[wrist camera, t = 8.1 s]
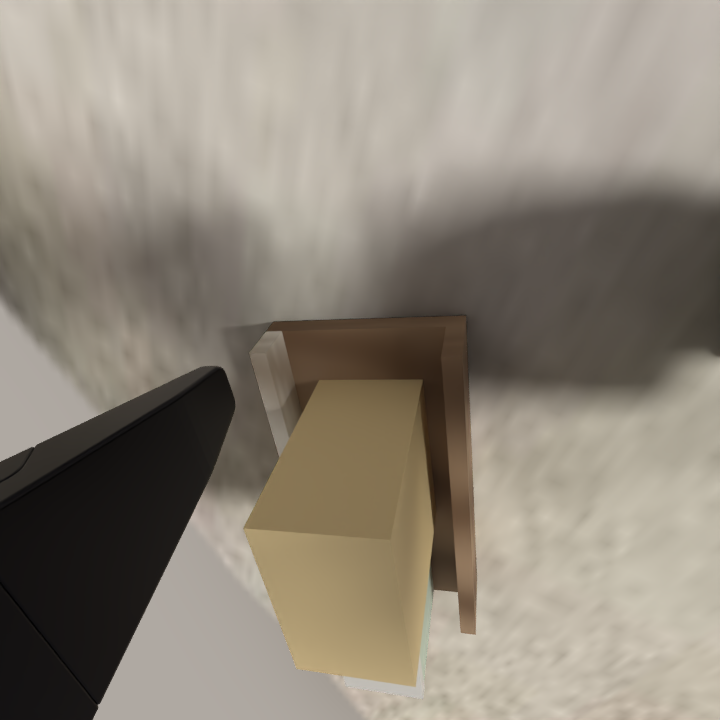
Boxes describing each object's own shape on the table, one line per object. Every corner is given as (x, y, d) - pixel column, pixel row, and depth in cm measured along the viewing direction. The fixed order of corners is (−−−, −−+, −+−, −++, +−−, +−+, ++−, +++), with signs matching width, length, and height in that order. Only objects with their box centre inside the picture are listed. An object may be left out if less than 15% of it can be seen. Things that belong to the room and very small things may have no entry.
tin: (429, 544, 29) (416, 653, 24) (434, 590, 31) (423, 699, 26) (360, 539, 30) (333, 642, 25) (369, 583, 32) (346, 686, 27)
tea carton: (436, 511, 27) (415, 687, 20) (345, 505, 29) (293, 668, 21) (422, 379, 23) (390, 540, 16) (316, 380, 24) (239, 527, 17)
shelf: (476, 579, 31) (475, 634, 28) (332, 564, 33) (317, 614, 30) (466, 315, 22) (462, 356, 19) (269, 321, 24) (239, 359, 21)
